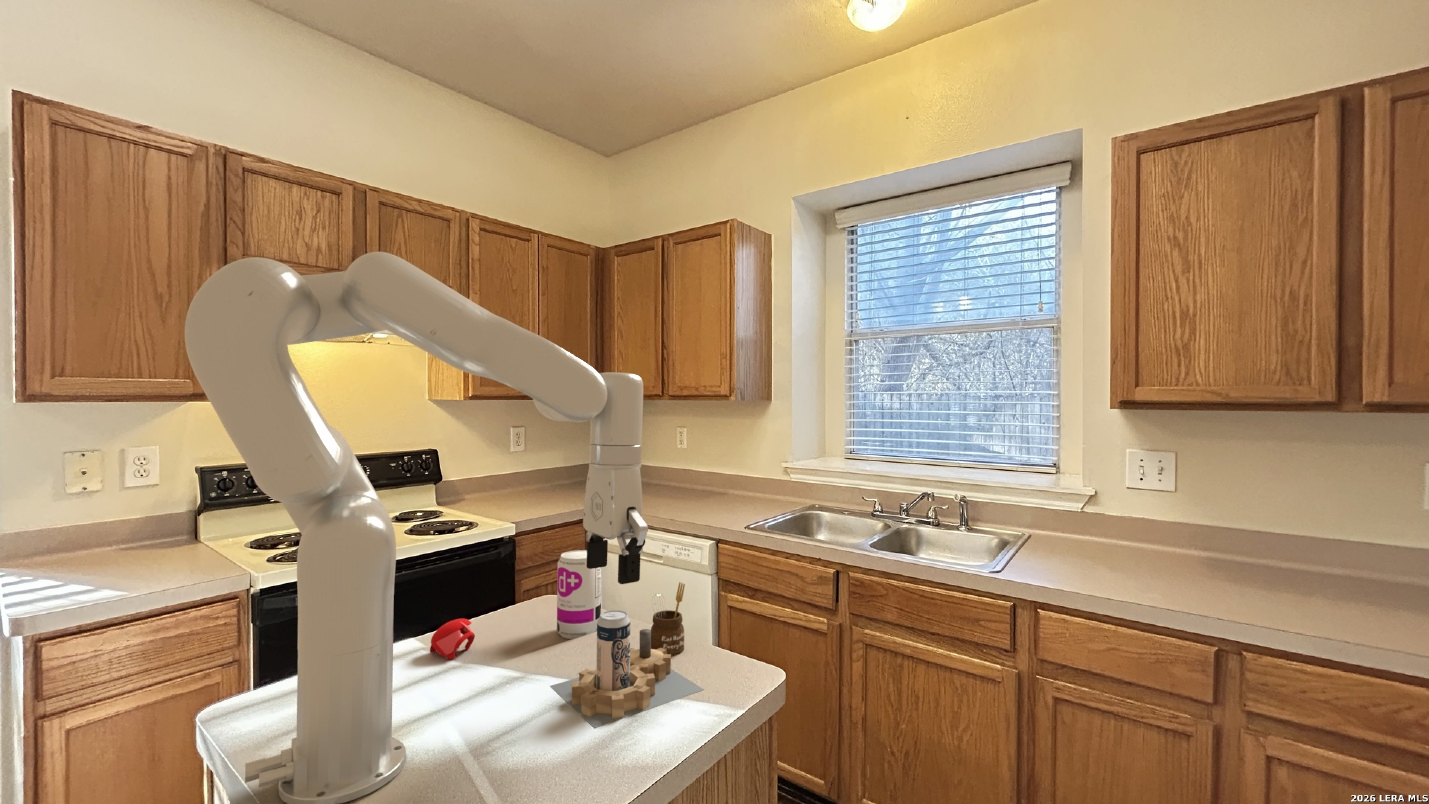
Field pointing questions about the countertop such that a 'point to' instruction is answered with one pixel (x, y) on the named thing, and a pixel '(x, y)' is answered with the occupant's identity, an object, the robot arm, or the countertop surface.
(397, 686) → the countertop surface
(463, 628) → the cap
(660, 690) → the gear board
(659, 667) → the small gear
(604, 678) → the beer can
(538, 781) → the countertop surface
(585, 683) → the oak gear
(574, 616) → the supplement can
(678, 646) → the utensil holder
